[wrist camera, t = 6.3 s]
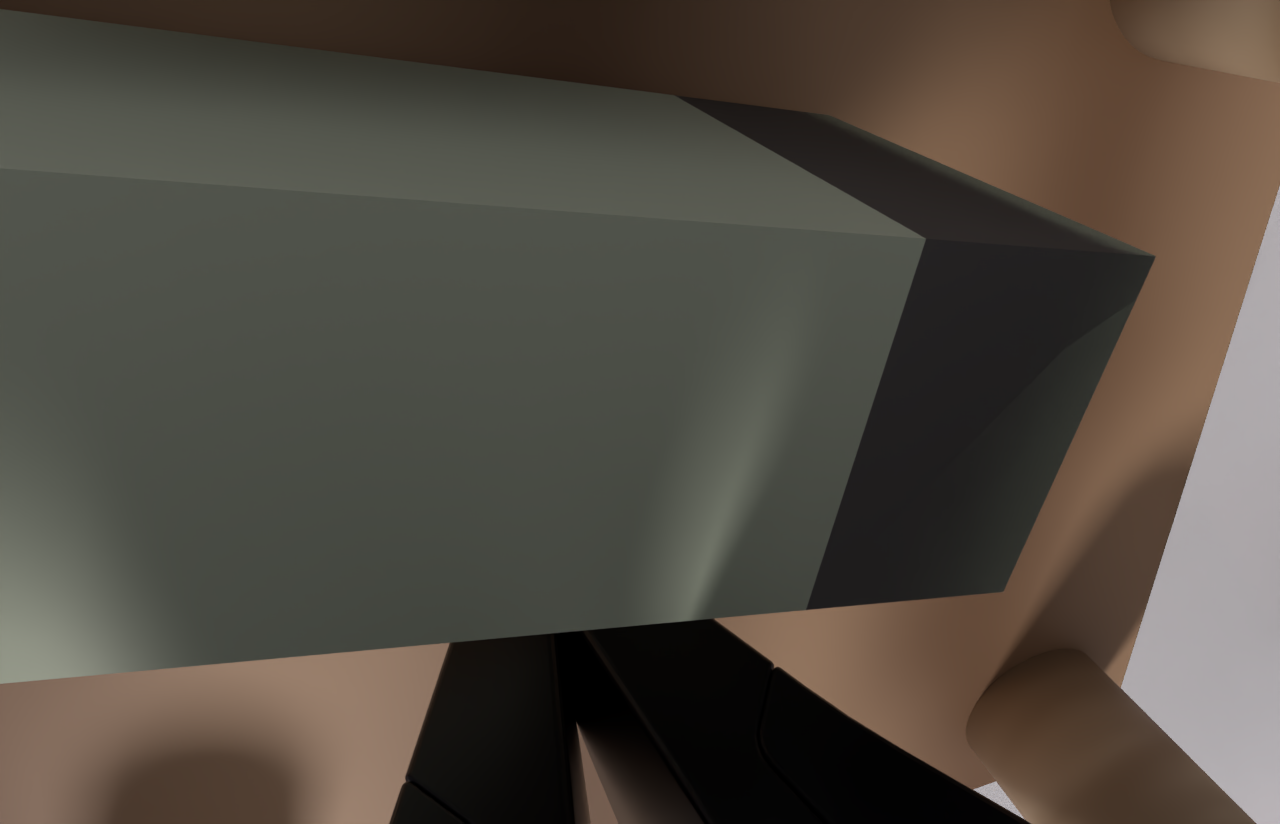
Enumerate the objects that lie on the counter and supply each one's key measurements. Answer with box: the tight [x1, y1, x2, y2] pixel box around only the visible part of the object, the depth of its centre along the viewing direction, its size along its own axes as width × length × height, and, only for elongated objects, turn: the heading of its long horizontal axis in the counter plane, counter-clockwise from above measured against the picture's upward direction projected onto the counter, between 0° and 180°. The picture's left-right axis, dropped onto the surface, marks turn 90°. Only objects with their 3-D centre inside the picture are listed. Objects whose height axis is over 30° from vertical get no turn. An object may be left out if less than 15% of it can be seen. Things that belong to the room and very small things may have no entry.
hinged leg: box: [0, 9, 1156, 684], centre depth 5 cm, size 11×3×4 cm, turn 80°
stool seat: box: [0, 0, 1280, 824], centre depth 10 cm, size 18×16×6 cm
